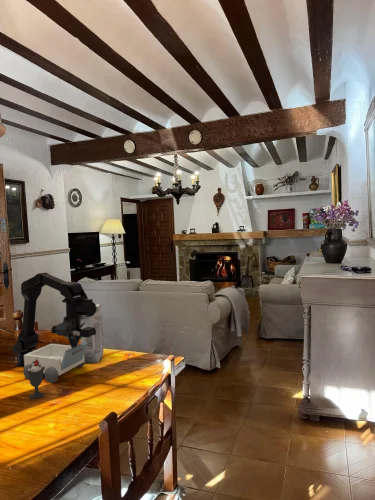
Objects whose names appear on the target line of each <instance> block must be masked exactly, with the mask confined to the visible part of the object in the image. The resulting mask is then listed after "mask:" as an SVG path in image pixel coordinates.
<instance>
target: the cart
mask: <svg viewBox="0 0 375 500" xmlns="http://www.w3.org/2000/svg"><path fill="white" fill-rule="evenodd" d="M69 349H71V345H70V344H69V345H67V344H58V343H49V344H47V345H45V346H41V347H40V348H38V349H37V348H36V349H34V350H32V351H33V352H30V353H28V354H25V355H24V367H23V376H24V377H25V378H26V379H27V380H29V375H28V373H27V372H26V369H27V368H29V367H30V366H31V364H32V363H33V361H35V360H36V359H37V360H38V361H39V362H40V363H41V365H43V366H44V367H45V369H44V370H43V376H44V379H45V380H46V382H48V383H49V384H53V383H55V382H57V381H58V379H59V376H61V375H63V374H65V373H67V372H68V371H70V370H72V369H73V368H81V367H83V366H85V364H86V363H85V357H84V355H83V358H82V359H81V360H80V361H78V362H76V363H74V364H72V365H70V366H68V367H66V368H64V369H63V370H61V363H62V360H63V357H64V354H65V351H67V350H69ZM37 357H38V358H37Z"/></svg>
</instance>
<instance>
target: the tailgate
mask: <svg viewBox="0 0 375 500" xmlns="http://www.w3.org/2000/svg"><path fill="white" fill-rule="evenodd" d="M87 344H88V343H87V342H84V343H82V344H81V343H80V344H77V346H76V347H73V348H71V349H69V350H67V351H65V354H64V357H63V360H62V363H61V370H63V369H64V368H66V367H68V366H70V365H72V364H74V363H76V362H78V361H80V360H81V359H82V358H83V355H84V352H85V349H86V347H87Z"/></svg>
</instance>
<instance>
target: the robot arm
mask: <svg viewBox="0 0 375 500" xmlns="http://www.w3.org/2000/svg"><path fill="white" fill-rule="evenodd" d="M45 286H47V287H50V288H51V289H54V290H56V291H59V293H60V295H61V296H63V299H62V300H61V303H65V316H64V317H63V321H62V322H61V323H58V324H55V325H52V327H51V328H50V330H51V332H50V333H51V334H56V335H57V337H58V336H62V337H65V339H67V341H68V342H69V346H71V348H73V347H76V346H78V345H79V343H80V341H81V339H80V338H81V337H86V338H87V337H90V336H93V335H95V334H96V329H95V328H94V327H86V328H83V329H81V327H83V325H82V324H81V318H82V315H84V316H93V315H94V314H95V313H96V305H95V304H96V303H95V302H94V300H93V299H92V298H88V295H87V294H86V292H85V290H84V288H83V286H82V284H81V283H79V282H75V281H68V280H67V281H66V280H63V279H61V278H58V277H57V276H54V275H52V274H50V273H48V272H39V273H37V274H35V275H34V276H32V277H31V278H28V279H27V280H23V281H22V282H21V285H20V292H21V295H22V297H23V298H24V299H23V300H24V301H23V302H24V303H23V304H24V305H23V315H22V327H21V328H22V329H21V331H20V333H19V334H18V336H17V339H16V343H15V344H14V346H13V347H12V352H13V354H15V355H16V358H17V363H15V364H14V366H15V367H20V368H24V355H25V354H28V353H30V352H33V351H35V350H37V345H38V343H39V334H38V333H37V332H36V330H35V325H36V324H35V323H36V312H37V311H36V309H37V301H38V299H39V297H40V296H41V294H42V290H43V288H44V287H45Z"/></svg>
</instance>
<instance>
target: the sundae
mask: <svg viewBox="0 0 375 500" xmlns="http://www.w3.org/2000/svg"><path fill="white" fill-rule="evenodd" d="M37 358H38V357H37ZM44 369H45V367H44V366H43V365H41V363H40V362H39V361H38V360H37V359H36V360H35V361H33V363H32V364H31V366H30V367H29V368H27V369H26V372H27V373H28V375H29V379H28V380H29V383H30V385H31V387H33V388H34V393H32V394H30V395H29V399H32V400H36V399H40V398H42V397H43V396H45V393H44V392H40V390H39V386H41V384H42V383H43V378H44V377H43V376H44V373H43V370H44Z"/></svg>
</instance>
